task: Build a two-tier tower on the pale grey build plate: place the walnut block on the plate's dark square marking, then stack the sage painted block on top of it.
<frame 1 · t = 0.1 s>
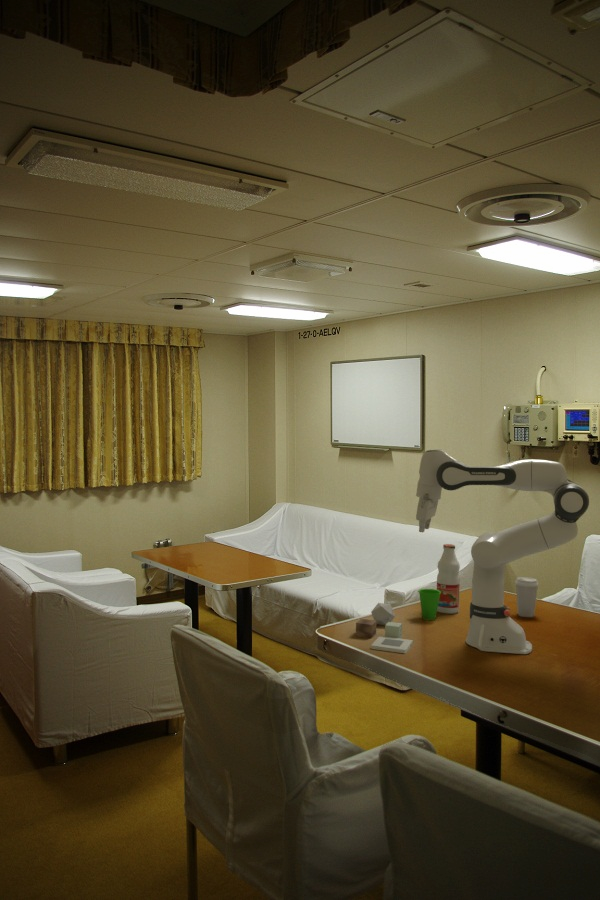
hand: (424, 530, 247), 39 cm above the table, tool pointing down, fingers open, 8 cm apart
white block: (382, 624, 262), on the table
walnut block: (365, 635, 247), on the table
coffee cup: (525, 615, 280), on the table
cup: (428, 618, 271), on the table
sage block: (393, 637, 244), on the table
fruit juice: (447, 611, 284), on the table
build plate: (392, 646, 234), on the table
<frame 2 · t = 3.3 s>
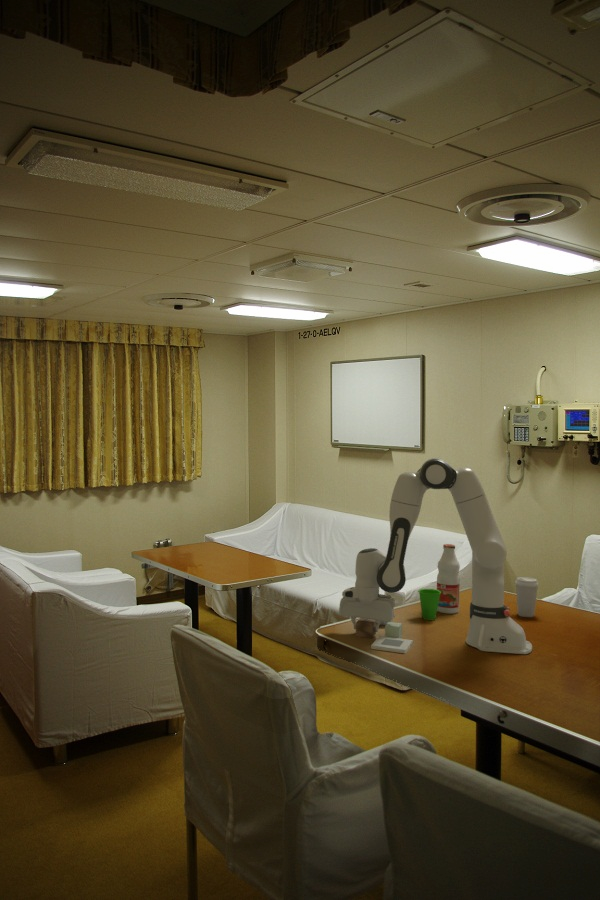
hand: (366, 630, 247), 2 cm above the table, tool pointing down, fingers closed on walnut block, 6 cm apart
walnut block: (365, 634, 247), on the table, touching gripper
everything else where it was.
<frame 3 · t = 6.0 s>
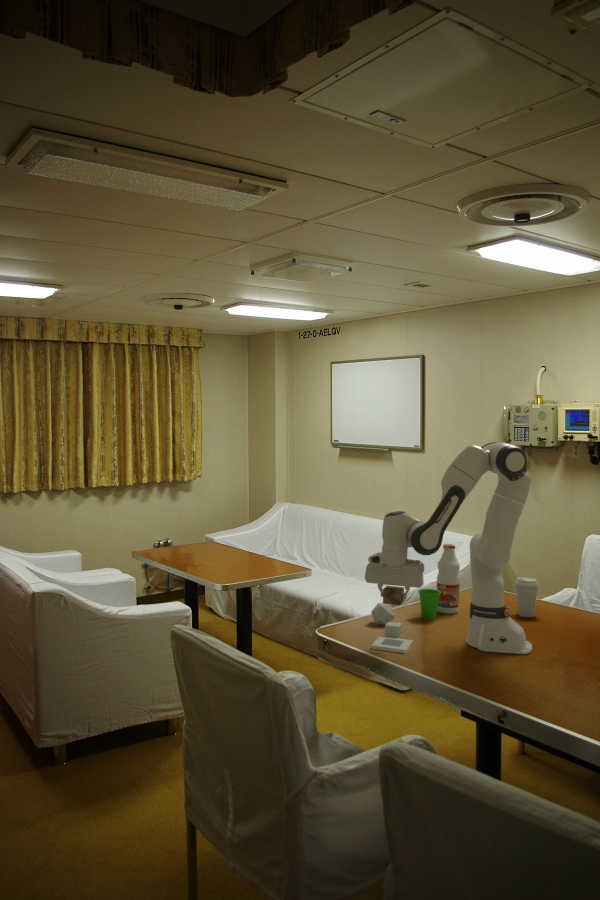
hand: (393, 597, 234), 17 cm above the table, tool pointing down, fingers closed on walnut block, 6 cm apart
walnut block: (393, 602, 234), point 15 cm above the table, touching gripper
everything else where it was.
when the fingers open (4 cm above the table, at t = 8.9 s): walnut block stays where it is, resting on build plate.
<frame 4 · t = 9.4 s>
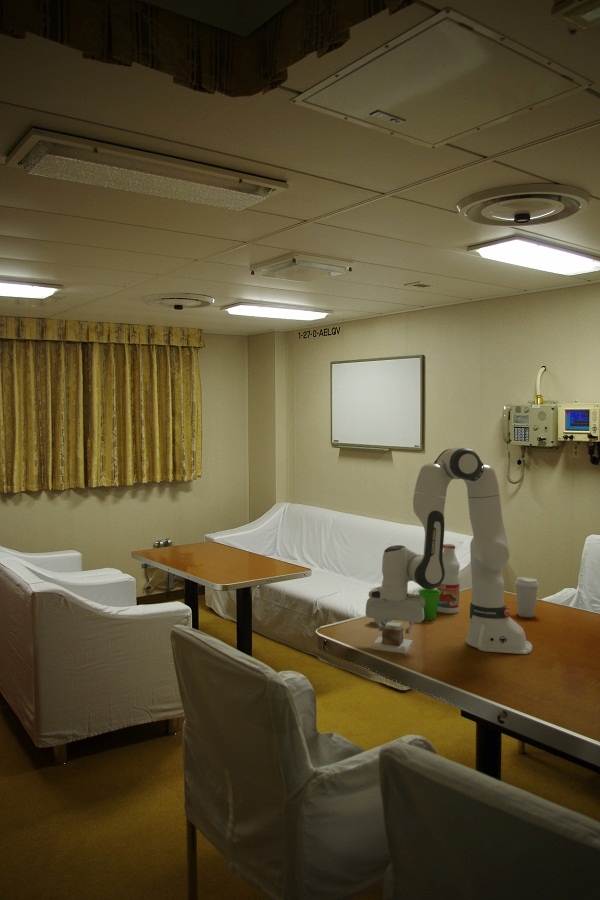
hand: (394, 632, 234), 5 cm above the table, tool pointing down, fingers open, 8 cm apart
walnut block: (392, 642, 234), point 1 cm above the table, touching build plate
everything else where it was.
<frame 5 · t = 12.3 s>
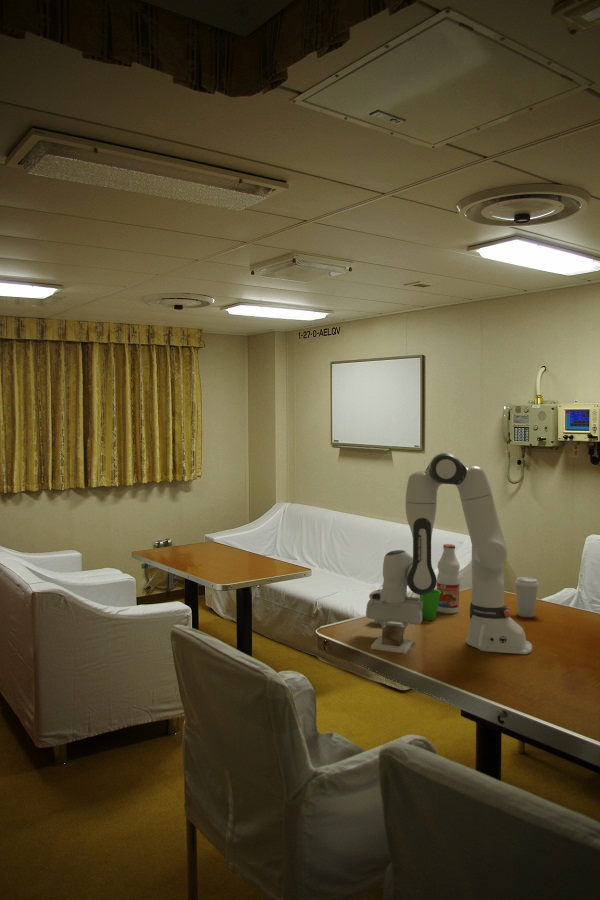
hand: (393, 633, 244), 2 cm above the table, tool pointing down, fingers closed on sage block, 5 cm apart
sage block: (393, 637, 244), on the table, touching gripper
everything else where it was.
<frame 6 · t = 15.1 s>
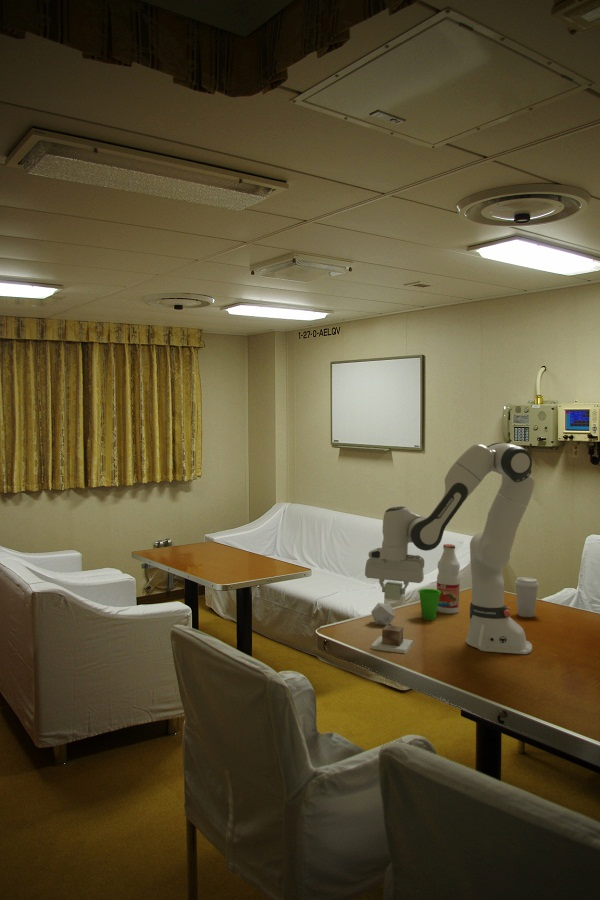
hand: (393, 593, 234), 19 cm above the table, tool pointing down, fingers closed on sage block, 5 cm apart
sage block: (393, 597, 234), point 17 cm above the table, touching gripper
everything else where it was.
when the fingers open (9 cm above the table, at t = 17.6 s): sage block stays where it is, resting on walnut block.
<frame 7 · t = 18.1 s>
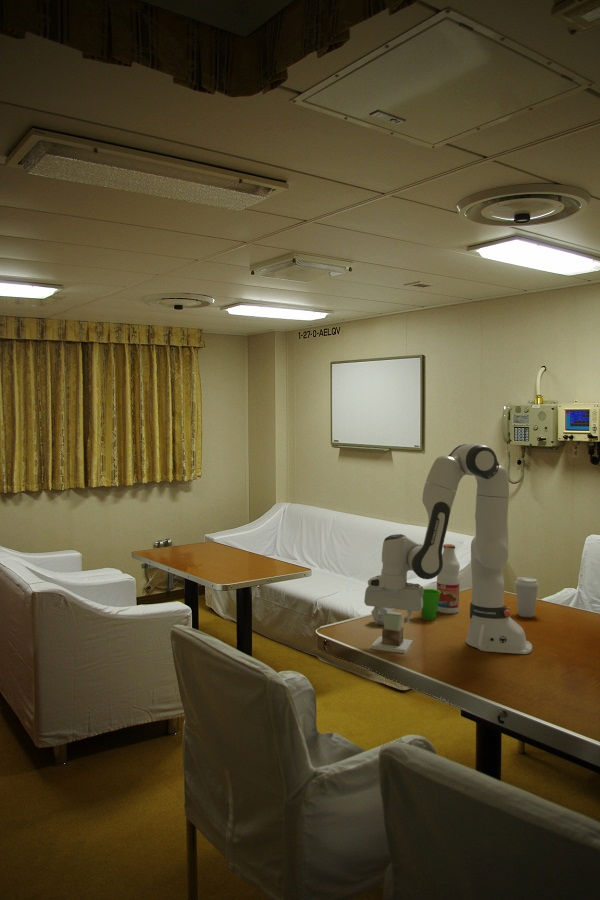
hand: (393, 621, 234), 9 cm above the table, tool pointing down, fingers open, 8 cm apart
walnut block: (392, 642, 234), point 1 cm above the table, touching build plate, sage block
sage block: (392, 628, 234), point 6 cm above the table, touching walnut block
everything else where it was.
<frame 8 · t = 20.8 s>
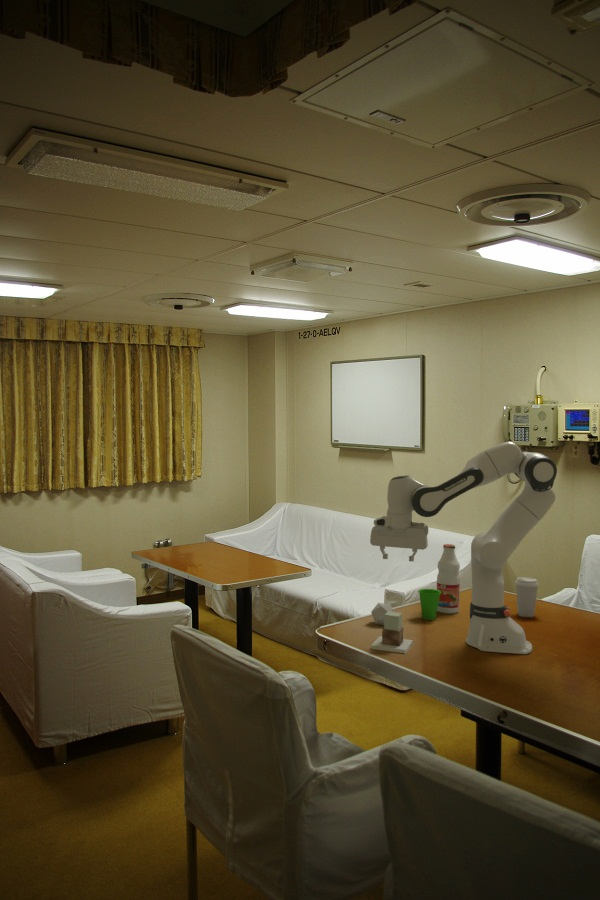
hand: (398, 560, 239), 29 cm above the table, tool pointing down, fingers open, 8 cm apart
nothing on the table moved.
at the end: walnut block inside the target area on the build plate (0.1 cm from its centre), point 1.3 cm above the build plate's base; sage block 0.0 cm off-centre on the walnut block, point 5.0 cm above the walnut block's base; sage block tilted 0° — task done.
